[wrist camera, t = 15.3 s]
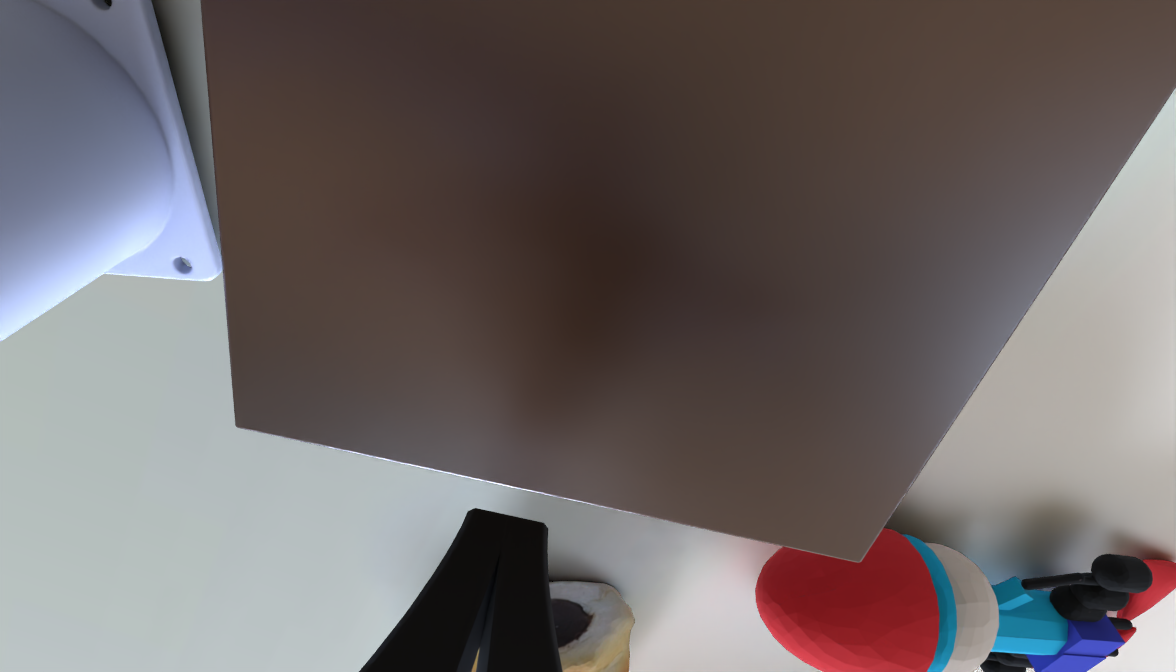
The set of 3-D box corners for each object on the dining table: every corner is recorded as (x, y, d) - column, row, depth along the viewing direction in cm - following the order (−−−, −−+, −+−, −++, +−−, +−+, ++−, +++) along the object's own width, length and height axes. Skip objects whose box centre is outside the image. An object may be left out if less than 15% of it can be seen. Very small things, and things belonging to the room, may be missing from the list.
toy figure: (1166, 510, 24) (786, 459, 21) (1285, 646, 20) (842, 608, 17) (1030, 619, 29) (700, 590, 26) (1106, 747, 25) (730, 731, 22)
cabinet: (422, -431, 12) (125, -869, 5) (1057, -252, 13) (1531, -441, 6) (382, 245, 20) (234, 428, 13) (789, 340, 20) (861, 565, 13)
